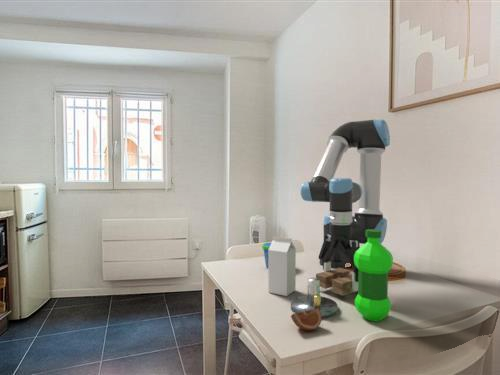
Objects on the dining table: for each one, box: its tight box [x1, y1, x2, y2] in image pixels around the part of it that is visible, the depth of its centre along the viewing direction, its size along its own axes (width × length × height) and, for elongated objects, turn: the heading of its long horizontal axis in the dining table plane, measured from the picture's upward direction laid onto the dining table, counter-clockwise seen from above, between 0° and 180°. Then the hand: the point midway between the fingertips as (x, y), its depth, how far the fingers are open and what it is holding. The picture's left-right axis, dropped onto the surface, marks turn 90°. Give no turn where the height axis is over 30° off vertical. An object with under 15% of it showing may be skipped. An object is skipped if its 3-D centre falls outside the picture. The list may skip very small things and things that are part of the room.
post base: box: [290, 277, 338, 319], centre depth 102 cm, size 14×14×9 cm
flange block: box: [315, 268, 357, 296], centre depth 116 cm, size 12×12×4 cm
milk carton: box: [267, 236, 297, 297], centre depth 117 cm, size 7×7×19 cm
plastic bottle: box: [354, 229, 394, 322], centre depth 95 cm, size 10×10×25 cm
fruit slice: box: [290, 308, 323, 332], centre depth 89 cm, size 8×7×5 cm
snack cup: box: [261, 241, 272, 268], centre depth 147 cm, size 16×10×10 cm
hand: (340, 285), depth 116 cm, fingers closed on flange block, 12 cm apart
